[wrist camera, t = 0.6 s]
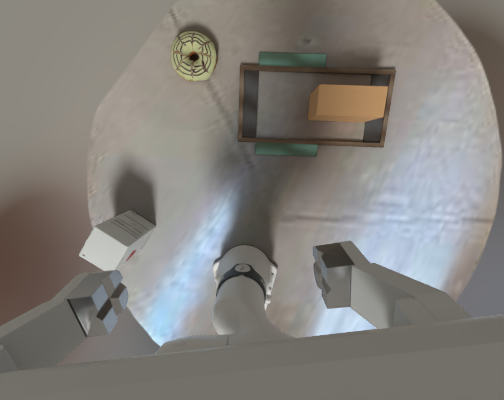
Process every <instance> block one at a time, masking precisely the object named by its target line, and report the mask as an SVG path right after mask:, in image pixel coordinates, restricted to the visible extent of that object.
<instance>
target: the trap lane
mask: <svg viewBox="0 0 504 400" xmlns="http://www.w3.org/2000/svg"><path fill="white" fill-rule="evenodd" d="M326 55H327V54H298V53H264V52H260V53H259V65H240V95H239V131H238V141H239V142H256V146H255V154H269V155H292V156H315V157H316V156H317V145H335V146H359V147H384V141H385V135H386V129H387V123H388V116H389V110H390V104H391V98H392V91H393V85H394V79H395V73H396V70H391V69H359V68H327V67H325V65H326ZM259 71H275V72H306V73H338V74H369V75H372V81H371V86H387V87H388V91H387V97H386V103H385V110H384V116H383V117H382V118H378V119H374V120H370V121H366V124H365V131H364V138H363V143H362V142H338V141H314V140H289V139H265V138H256V123H257V100H258V77H259Z"/></svg>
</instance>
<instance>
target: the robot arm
mask: <svg viewBox="0 0 504 400" xmlns="http://www.w3.org/2000/svg"><path fill="white" fill-rule="evenodd" d="M313 256H314V258H315V260H316V261H315V263H314V274H315V279H316V283H317V285H318V287H319V288H320V289H322V297H323V299H324V302H325V304H326V306H327V309H330V308H341V307H350V308H351V309H353V310H354V311H355V312H357V313H358V314H359V315H360V316H362V317H363V318H364V319H366V320H367V321H368V322H369V323H371V324H372V325H373V326H375V327H376V328H377V329H372V330H364V331H355V332H346V333H338V334H329V335H320V336H312V337H303V338H295V337H292V336H290V335H288V334H286V333H284V332H282V331H281V330H279V329H278V328H277V327H276V326H274V325H273V324H272V323H271V322H270V321H269V319H268V318H267V316H266V313H265V310H266V308H267V305H268V304H270V300H271V295H270V294H271V291H272V287H273V284H274V281H275V277H276V274H277V267H276V266H275V265H274V264H272V263H271V262H270V261H269V260H268V259H267V257H266V256H265V254H264V253H263V252H262V251H260V250H259V249H257V248H255V247H253V246H248V245H241V246H236V247H234V248H232V249H230V250H229V251H228V252H227V253H226V254H225V255H224V256H223V258H222V259H220V260H218V261H217V262H215V263H214V264H213V270H214V275H215V281H216V285H217V293H216V297H217V298H216V301H215V304H214V308H213V311H212V321H213V325H214V327H215V329H216V331H217V332H218V334H219V335H192V336H188V337H183V338H179V339H176V340H172V341H168V342H166V343H164V344H163V345H162V346H161V347H160V348H159V350H158V351H157V352H156V353H155V355H146V356H137V357H128V358H120V359H111V360H103V361H94V362H85V363H77V364H68V365H59V366H56V365H57V364H58V363H59V362H60V361H61V360H63V359H64V358H65V357H66V356H67V355H68V354H69V353H71V352H72V351H73V350H74V349H75V348H76V347H77V346H79V345H80V344H81V343H82V342H83V341H84V340H85V339H86V337H93V336H100V335H106V334H109V333H110V331H111V330H112V328H113V326H114V325H115V323H116V322H117V320H118V318H117V315H118V314H119V313H121V312H122V311H123V310H124V308H125V307H126V305H127V302H128V291H127V288H126V286H124V285H123V284H122V283H121V281H122V279H123V277H122V275H121V273H120V271H118V270H109V271H100V272H89V273H82V274H79V275H77V276H76V277H75V278H74V279H73V280H72V281H70V282H69V283H68V284H67V285H66V286H65V287H64V288H63V289H62V290H61V291H60V292H59V293H58V294H57V295H56V296H55V297H54V298H53V299H52V300H51V301H49V302H45V303H43V304H41V305H39V306H37V307H35V308H34V309H32V310H30V311H28V312H26V313H24V314H23V315H21V316H19V317H17V318H15V319H13V320H11V321H10V322H8V323H6V324H4V325H2V326H0V400H504V314H502V315H494V316H485V317H476V318H473V317H472V316H471V315H470V314H469V313H468V312H467V311H465V310H464V309H463V308H462V307H461V306H460V305H459V304H458V303H457V302H455V301H454V300H453V299H452V298H451V297H450V296H449V295H448V294H446V293H445V292H443V291H441V290H438V289H436V288H433V287H431V286H429V285H426V284H424V283H421V282H419V281H417V280H414V279H412V278H409V277H407V276H405V275H402V274H400V273H397V272H395V271H392V270H390V269H388V268H385V267H383V266H380V265H378V264H376V263H370V262H369V261H368V260H367V259H366V258H365V256H364V255H363V254H362V253H361V252H360V251H359V249H358V248H357V247H356V246H355V245H354V244H353V242H351V241H345V242H339V243H333V244H326V245H319V246H313ZM271 273H273V274H271Z"/></svg>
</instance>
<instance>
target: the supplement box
mask: <svg viewBox="0 0 504 400" xmlns="http://www.w3.org/2000/svg"><path fill="white" fill-rule="evenodd" d="M155 227H156V226H155V225H154V224H152V223H151V222H149V221H147V220H146V219H144V218H143V217H141V216H139V215H138V214H136V213H135V212H133V211H132V210H129V211H127V212H124V213H122V214H120V215H118V216H116V217H114V218H111V219H109V220H107V221H105V222H103V223H101V224H98V225H96V226H95V227H94V228H93V230H92V232H91V234H90V236H89V238H88V239H87V240H86V242H85V245H84V247H83V248H82V250H81V252H80V254H79V256H81V257H82V258H84V259H86V260H87V261H89V262H91V263H92V264H94V265H96V266H97V267H99V268H101V269H102V270H104V271H109V270H118V269H119V268H120V267H121V266H122V265H123V264H125V263H126V262H127V261H128V260H129V259H130V258H132V257H133V256H134V255H135V254H136V253H138V252H139V251H140V250H141V249H142V248H143V247H144V245H145V243H146V242H147V240H148V239H149V237H150V235H151V234H152V232H153V231H154V229H155Z"/></svg>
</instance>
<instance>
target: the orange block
mask: <svg viewBox="0 0 504 400" xmlns="http://www.w3.org/2000/svg"><path fill="white" fill-rule="evenodd" d="M387 91H388V87H387V86H357V85H327V84H319V85H318V86H317V88H316V89H315V90H314V91H313V92H312V93H311V94H310V101H309V112H308V120H319V121H346V122H366V121H370V120H374V119H378V118H382V117H383V116H384V110H385V103H386V97H387Z"/></svg>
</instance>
